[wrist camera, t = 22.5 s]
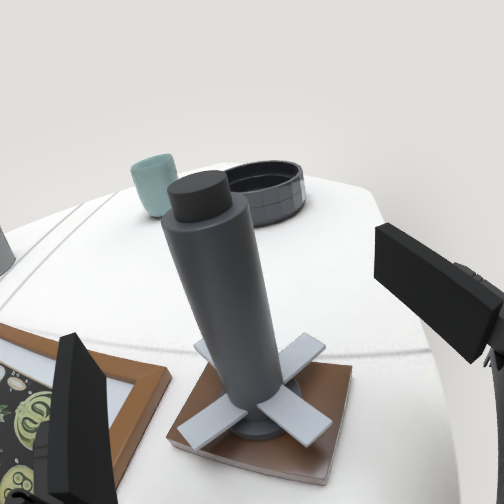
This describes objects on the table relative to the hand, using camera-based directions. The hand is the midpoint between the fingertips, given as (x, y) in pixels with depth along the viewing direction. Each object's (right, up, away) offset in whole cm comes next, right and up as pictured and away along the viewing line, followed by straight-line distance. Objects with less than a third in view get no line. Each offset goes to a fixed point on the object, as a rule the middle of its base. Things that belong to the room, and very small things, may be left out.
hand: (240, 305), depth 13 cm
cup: (-15, +9, +45) cm, 49 cm away
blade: (+1, -8, +8) cm, 11 cm away
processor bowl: (+2, +9, +39) cm, 40 cm away
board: (+1, -10, +8) cm, 13 cm away
